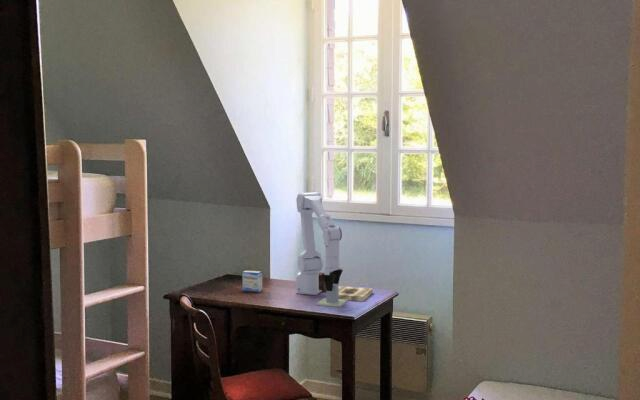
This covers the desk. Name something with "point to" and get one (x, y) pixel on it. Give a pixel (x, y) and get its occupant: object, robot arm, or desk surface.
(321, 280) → the box
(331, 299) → the slate block
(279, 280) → the desk surface
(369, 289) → the pocket board
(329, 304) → the tile
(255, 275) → the medicine box
